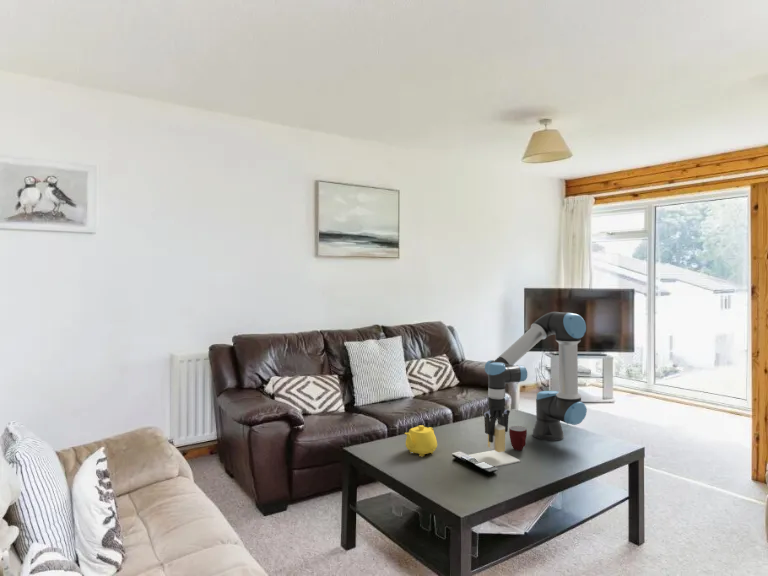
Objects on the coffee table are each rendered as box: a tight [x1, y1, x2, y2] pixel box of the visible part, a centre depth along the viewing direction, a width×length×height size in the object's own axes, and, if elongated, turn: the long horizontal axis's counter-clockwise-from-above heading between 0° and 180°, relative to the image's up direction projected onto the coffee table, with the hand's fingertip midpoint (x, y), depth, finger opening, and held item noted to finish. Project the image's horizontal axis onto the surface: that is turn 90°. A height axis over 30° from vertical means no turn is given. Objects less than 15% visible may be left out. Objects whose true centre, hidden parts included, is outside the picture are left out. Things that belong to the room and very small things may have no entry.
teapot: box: [404, 424, 438, 458], centre depth 234 cm, size 14×20×13 cm
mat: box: [468, 449, 521, 468], centre depth 226 cm, size 21×16×1 cm
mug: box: [508, 425, 528, 452], centre depth 238 cm, size 10×8×10 cm
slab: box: [487, 422, 506, 452], centre depth 227 cm, size 4×8×11 cm, turn 25°
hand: (496, 448), depth 227 cm, fingers closed on slab, 3 cm apart
